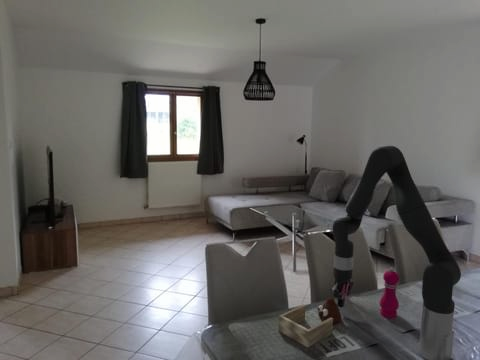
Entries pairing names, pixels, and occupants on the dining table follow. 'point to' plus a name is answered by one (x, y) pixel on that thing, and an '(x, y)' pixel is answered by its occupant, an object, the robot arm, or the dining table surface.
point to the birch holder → (301, 333)
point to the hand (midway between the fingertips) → (340, 306)
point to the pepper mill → (389, 295)
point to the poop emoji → (330, 311)
